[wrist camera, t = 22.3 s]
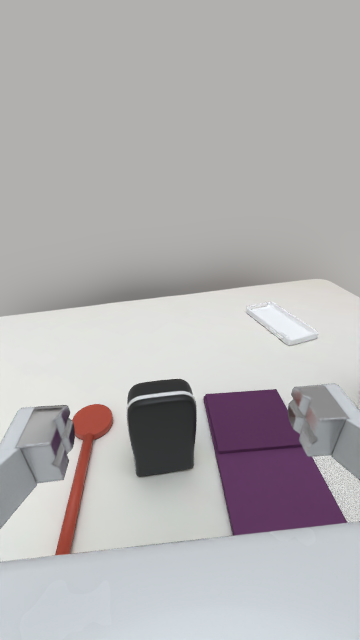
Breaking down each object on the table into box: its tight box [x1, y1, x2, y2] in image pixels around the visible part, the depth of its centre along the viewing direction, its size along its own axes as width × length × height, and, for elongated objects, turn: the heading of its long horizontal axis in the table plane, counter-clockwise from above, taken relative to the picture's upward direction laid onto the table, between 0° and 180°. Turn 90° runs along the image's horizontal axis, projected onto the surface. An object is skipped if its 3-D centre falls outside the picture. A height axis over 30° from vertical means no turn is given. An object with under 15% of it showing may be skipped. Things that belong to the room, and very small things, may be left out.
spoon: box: [55, 404, 113, 555], centre depth 32 cm, size 5×19×1 cm, turn 5°
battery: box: [127, 379, 196, 476], centre depth 30 cm, size 7×4×11 cm, turn 99°
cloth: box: [204, 389, 347, 535], centre depth 34 cm, size 11×18×1 cm, turn 5°
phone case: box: [246, 302, 318, 345], centre depth 60 cm, size 7×1×15 cm
